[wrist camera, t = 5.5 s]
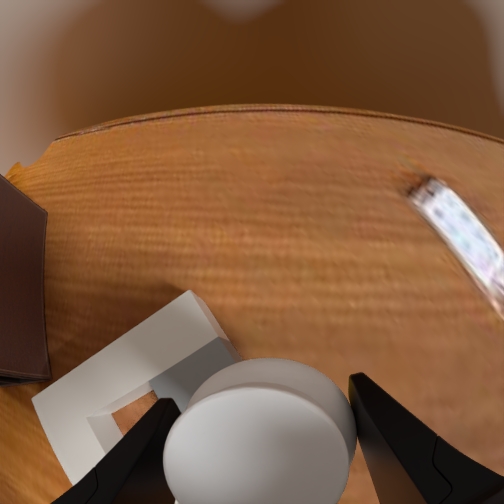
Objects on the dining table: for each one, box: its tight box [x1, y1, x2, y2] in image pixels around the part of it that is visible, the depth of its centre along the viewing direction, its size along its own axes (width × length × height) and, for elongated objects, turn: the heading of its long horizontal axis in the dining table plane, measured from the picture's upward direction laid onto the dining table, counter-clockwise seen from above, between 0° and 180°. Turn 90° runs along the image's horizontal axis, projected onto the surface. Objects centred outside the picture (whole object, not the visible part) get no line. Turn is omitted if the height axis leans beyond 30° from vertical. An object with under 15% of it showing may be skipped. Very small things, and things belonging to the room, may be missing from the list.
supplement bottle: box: [163, 358, 357, 504], centre depth 9 cm, size 5×5×10 cm
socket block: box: [32, 290, 243, 504], centre depth 17 cm, size 14×18×4 cm
